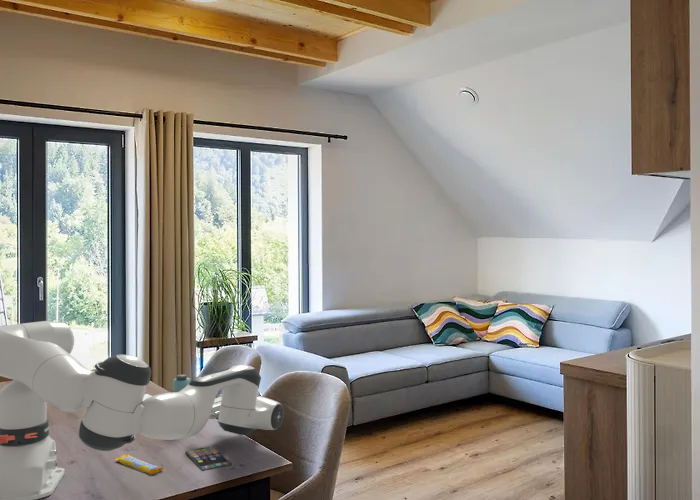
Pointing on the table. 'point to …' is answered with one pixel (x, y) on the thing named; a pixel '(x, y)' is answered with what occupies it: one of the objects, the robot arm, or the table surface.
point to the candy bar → (138, 464)
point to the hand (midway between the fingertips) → (207, 400)
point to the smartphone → (208, 458)
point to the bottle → (180, 382)
